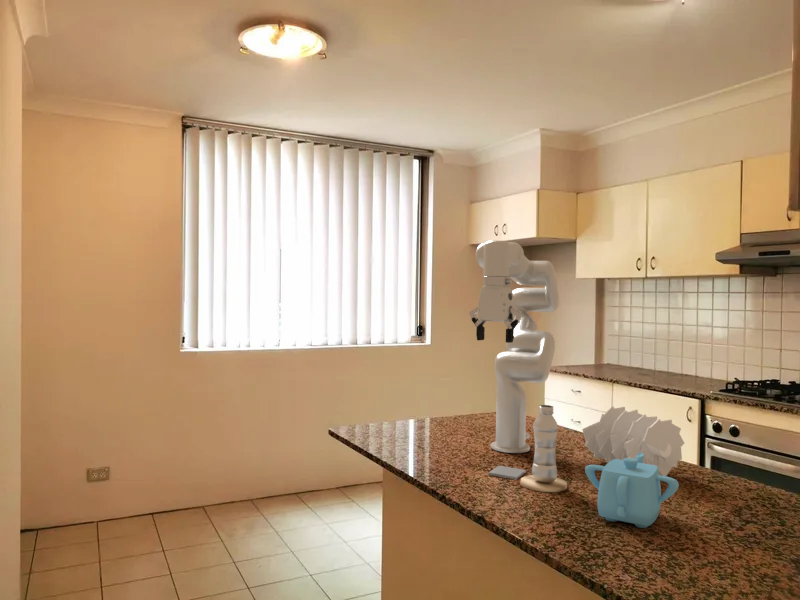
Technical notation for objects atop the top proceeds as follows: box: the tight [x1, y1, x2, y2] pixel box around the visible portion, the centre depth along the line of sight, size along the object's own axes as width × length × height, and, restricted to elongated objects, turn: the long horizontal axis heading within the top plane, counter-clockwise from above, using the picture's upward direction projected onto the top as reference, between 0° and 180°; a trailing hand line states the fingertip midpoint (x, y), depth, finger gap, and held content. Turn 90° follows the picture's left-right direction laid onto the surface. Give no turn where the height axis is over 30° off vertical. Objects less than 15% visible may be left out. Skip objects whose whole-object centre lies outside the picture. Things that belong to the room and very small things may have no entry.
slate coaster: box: [488, 465, 527, 481], centre depth 169 cm, size 8×8×1 cm
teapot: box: [584, 453, 680, 529], centre depth 138 cm, size 18×16×14 cm
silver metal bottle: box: [531, 404, 559, 483], centre depth 160 cm, size 6×7×20 cm
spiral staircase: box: [582, 406, 685, 477], centre depth 175 cm, size 18×18×25 cm
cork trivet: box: [520, 474, 568, 493], centre depth 160 cm, size 12×12×1 cm
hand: (494, 341), depth 178 cm, fingers open, 9 cm apart
